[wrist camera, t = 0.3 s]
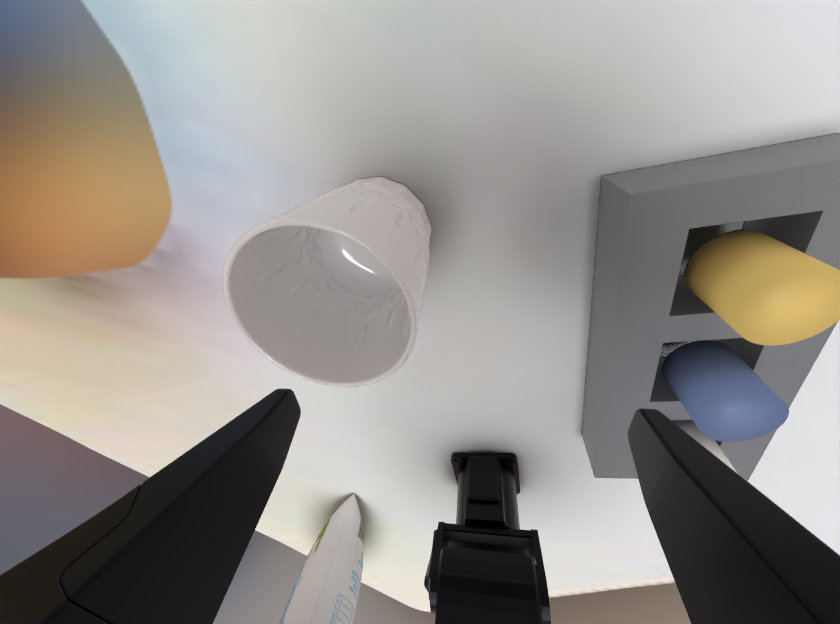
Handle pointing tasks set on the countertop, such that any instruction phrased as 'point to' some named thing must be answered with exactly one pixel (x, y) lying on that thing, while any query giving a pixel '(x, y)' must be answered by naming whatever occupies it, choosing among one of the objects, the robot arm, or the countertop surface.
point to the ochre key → (764, 287)
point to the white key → (703, 439)
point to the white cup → (334, 283)
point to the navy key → (722, 392)
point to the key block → (668, 293)
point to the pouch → (330, 572)
